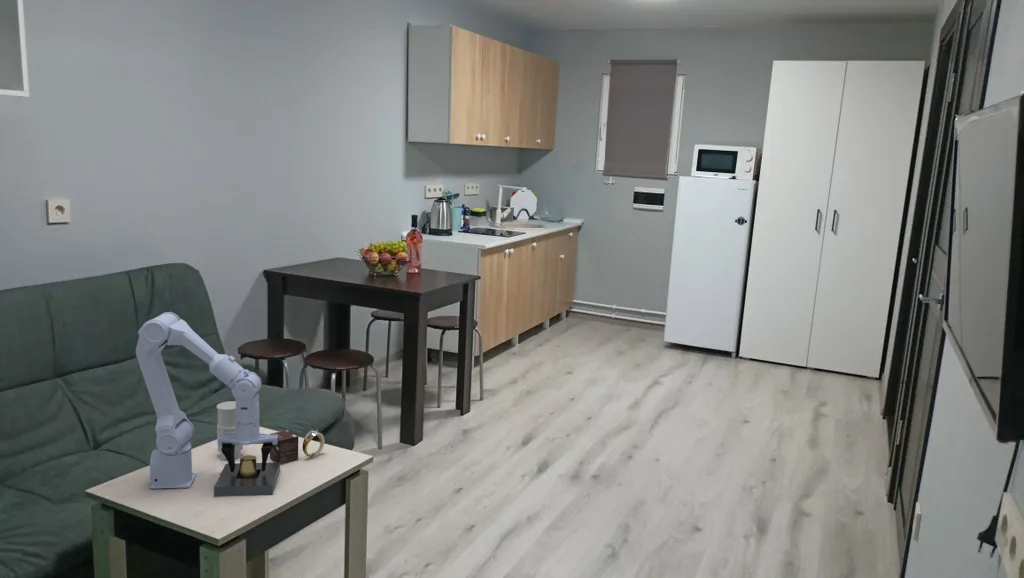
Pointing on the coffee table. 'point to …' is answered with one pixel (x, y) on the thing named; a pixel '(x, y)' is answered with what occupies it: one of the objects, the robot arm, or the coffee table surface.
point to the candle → (227, 425)
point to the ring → (306, 442)
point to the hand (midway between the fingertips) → (248, 470)
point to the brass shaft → (248, 467)
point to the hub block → (247, 481)
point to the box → (285, 447)
